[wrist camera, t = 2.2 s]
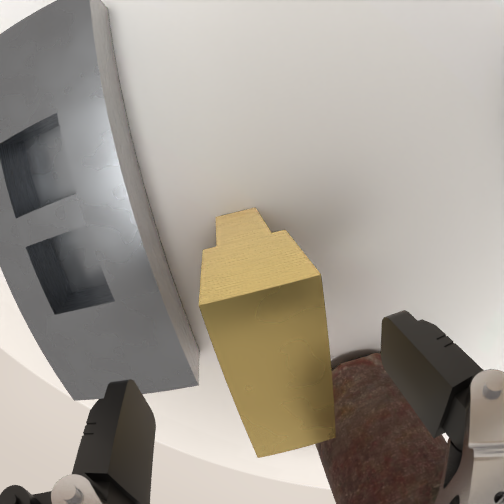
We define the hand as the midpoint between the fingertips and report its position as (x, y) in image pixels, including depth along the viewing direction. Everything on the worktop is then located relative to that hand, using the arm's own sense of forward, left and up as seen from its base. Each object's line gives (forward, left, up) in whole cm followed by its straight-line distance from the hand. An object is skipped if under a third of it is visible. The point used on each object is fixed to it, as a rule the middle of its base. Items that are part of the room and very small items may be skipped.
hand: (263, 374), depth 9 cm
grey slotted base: (+8, -6, -8) cm, 12 cm away
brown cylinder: (-5, +11, -8) cm, 15 cm away
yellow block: (0, 0, -8) cm, 8 cm away
